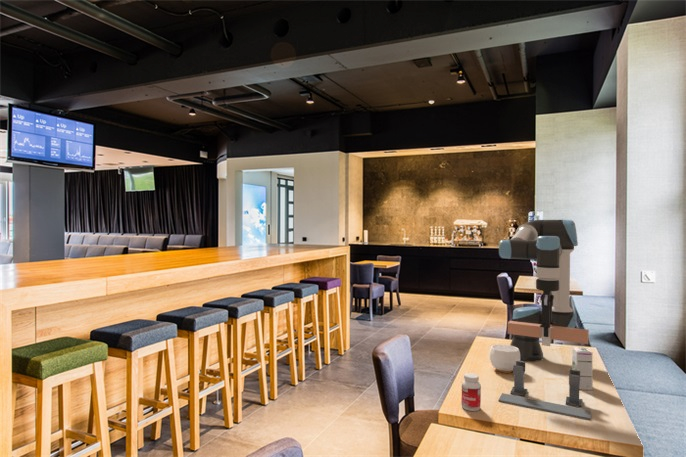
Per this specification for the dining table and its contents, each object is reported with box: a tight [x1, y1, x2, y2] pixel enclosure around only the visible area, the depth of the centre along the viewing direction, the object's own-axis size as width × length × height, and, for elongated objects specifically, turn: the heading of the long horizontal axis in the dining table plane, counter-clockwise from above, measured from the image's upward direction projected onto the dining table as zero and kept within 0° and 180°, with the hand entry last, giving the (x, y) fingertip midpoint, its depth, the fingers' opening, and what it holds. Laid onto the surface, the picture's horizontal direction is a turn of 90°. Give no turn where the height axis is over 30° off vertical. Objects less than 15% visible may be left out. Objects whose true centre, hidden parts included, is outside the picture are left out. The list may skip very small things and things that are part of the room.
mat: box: [498, 392, 592, 421], centre depth 147 cm, size 7×28×1 cm, turn 60°
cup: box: [489, 343, 521, 374], centre depth 184 cm, size 12×12×10 cm
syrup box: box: [571, 346, 594, 391], centre depth 166 cm, size 6×6×14 cm
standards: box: [510, 360, 583, 409], centre depth 155 cm, size 7×23×11 cm, turn 60°
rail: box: [507, 320, 590, 345], centre depth 155 cm, size 4×26×4 cm, turn 60°
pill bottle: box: [461, 372, 482, 412], centre depth 146 cm, size 6×6×11 cm
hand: (546, 343), depth 155 cm, fingers closed on rail, 4 cm apart
